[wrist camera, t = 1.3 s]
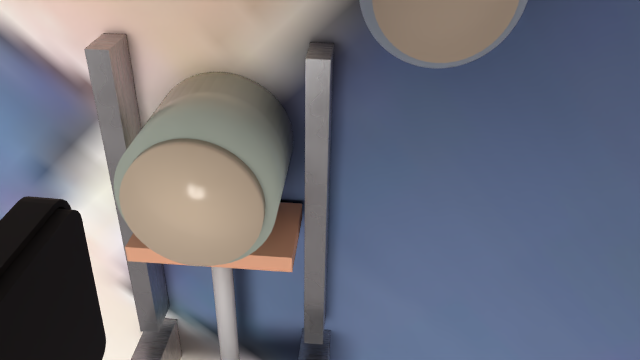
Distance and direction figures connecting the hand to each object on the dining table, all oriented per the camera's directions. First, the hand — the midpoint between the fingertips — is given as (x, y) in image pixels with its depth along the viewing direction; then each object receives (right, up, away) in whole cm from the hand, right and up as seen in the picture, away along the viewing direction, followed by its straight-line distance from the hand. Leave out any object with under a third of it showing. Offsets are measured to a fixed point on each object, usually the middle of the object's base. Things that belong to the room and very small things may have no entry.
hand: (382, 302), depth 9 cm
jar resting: (-5, +4, +19) cm, 20 cm away
